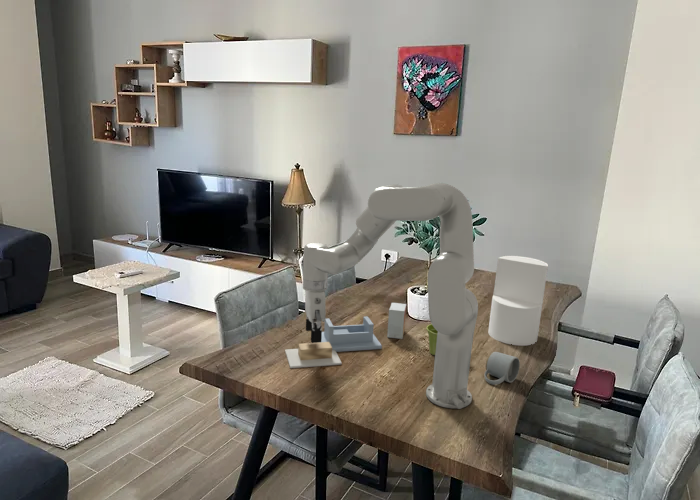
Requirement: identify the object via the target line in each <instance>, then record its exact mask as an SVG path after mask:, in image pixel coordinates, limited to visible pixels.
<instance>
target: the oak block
mask: <svg viewBox="0 0 700 500" xmlns="http://www.w3.org/2000/svg"><path fill="white" fill-rule="evenodd" d="M297 349H298V355H299V358H300V360H311V359H325V358H332V346H331V344H330V342H319V343H311V342H305V343H298V347H297Z"/></svg>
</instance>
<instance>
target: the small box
mask: <svg viewBox="0 0 700 500" xmlns="http://www.w3.org/2000/svg"><path fill="white" fill-rule="evenodd" d="M406 315H407V303H400V302H391V303H390V307H389V308H388V319H387V335H386V336H387V338H389V339H390V338H391V339H400V340H403V339H404V334H405V330H406V328H405V326H406Z"/></svg>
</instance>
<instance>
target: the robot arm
mask: <svg viewBox="0 0 700 500" xmlns="http://www.w3.org/2000/svg"><path fill="white" fill-rule="evenodd" d="M469 202H470V201H468V199H467V197H466V195H465V194H464V193H463V192H462V191H460V190H459V188H456V187H455V186H453V185H451V184H448V183H443V182H435V183H431V184H427V185H424V186H411V187H410V186H409V187H405V186H402V185H400V184H390V185H389V184H387V185H384V186H380V187H378V188H375V189H374V190H373V191H372V192H371V193H370V195H369V197H368V200H367V207H366V208H365V209H364V210H363V211H362V212H361V214H359V215H358V217H357V218H356V219H355V224H356V227H357V228H356V230H354V232H353V233H352V235H351V236H349V238H347V240H346V241H345V242H343V244H340V245H337V246H335V247H331V248H329V246H328V245H327V244H324V243H321V242H310V243H307V244H306V245H304V247H303V265H302V289H303V290H304V291H305V298H304V299H305V301H304V302H305V303H304V305H305V306H304V309H305V310H304V311H305V315H306V317H305V318H306V319H305V331H306V332H311V333H310V343H318V342H321V339H322V332H323V329H322V322H323V323H325V320H326V319H327V315H326V314H327V313H326V291H327V290H328V275H332V276H333V275H339V274H341V273H343V272H345V271H346V270H347V271H348V270H349V269H350V268H353V267H355V266H356V265H357V264H358V263H359V262H361V260H363V258H365V256H367V255H368V254H369V252H370V251H372V249H373V248H375V247H374V246H376V245H377V243H378V241H379V240H380V239H381V237H382V236H383V235H384V234H385V233H386V232H387V231H388V230H389V229H390V228H391V227H392V226H393V225H394V224H395V223H396V222H397V221H403V222H405V221H407V222H410V221H411V222H413V221H414V222H415V221H416V222H421V221H423V222H424V221H430V220H434V219H435V218H438V217H439V220H440V226H439V256H438V257H436V258H435V259H434V260H433V261H432V263H431V264H430V265H429V269H428V272H427V295H428V297H427V299H428V301H427V302H428V316H429V321H430V324H432V325H433V327H434V328H435V329H436V330H437V331H438V334H437V343H436V352H435V355H434V364H433V365H434V366H433V375H432V383H431V384H430V385H428V386H427V388H426V391H425V395H426V397H427V399H428V400H429V401H430V402H431V403H432V404H434V405H436V406H439V407H442V408H447V409H458V410H459V409H460V410H461V409H463V408H466V407H468V406H469V405H470V404H471V403H472V400H473V395H472V393H471V392H470V390H469V389H468V383H469V374H470V366H471V360H472V358H471V357H472V349H473V341H474V335H475V328H476V324H477V318H478V314H479V313H478V312H479V302H478V299H477V297H476V295H475V293H474V292H472V290H470V289H469V288H466V284H467V283H468V282H469V281H470V280H471V279H472V277H473V275H474V273H475V272H474V271H475V261H474V260H475V259H474V236H473V235H474V233H473V232H474V231H473V230H474V229H473V214H472V208H471V204H470V203H469Z"/></svg>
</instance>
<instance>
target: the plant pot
mask: <svg viewBox="0 0 700 500" xmlns="http://www.w3.org/2000/svg"><path fill="white" fill-rule="evenodd" d="M426 331H427V334H428V347H429V354H431V355H433V356H435V352H436V343H437V334H438V331H437V330H436V329H435V328H434V327H433V325H432V323H430V324H428V325H427V326H426Z"/></svg>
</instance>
